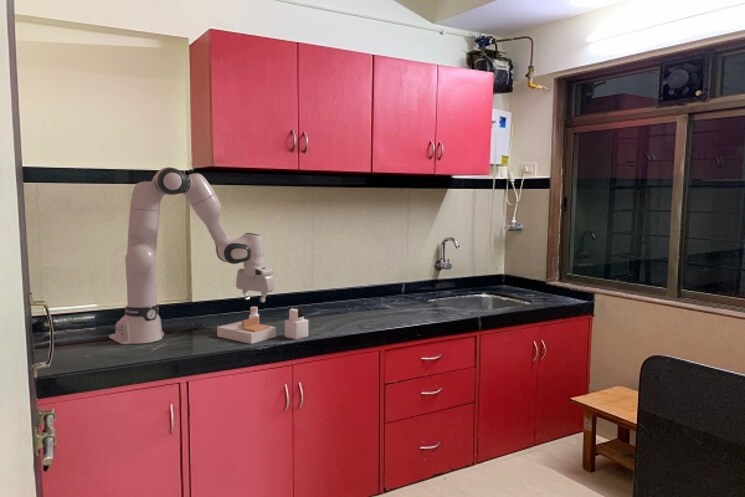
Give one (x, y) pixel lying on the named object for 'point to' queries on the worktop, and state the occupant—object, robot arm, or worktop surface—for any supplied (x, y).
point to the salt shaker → (253, 312)
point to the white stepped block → (296, 324)
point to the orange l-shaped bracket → (253, 325)
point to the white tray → (244, 333)
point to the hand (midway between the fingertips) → (254, 300)
